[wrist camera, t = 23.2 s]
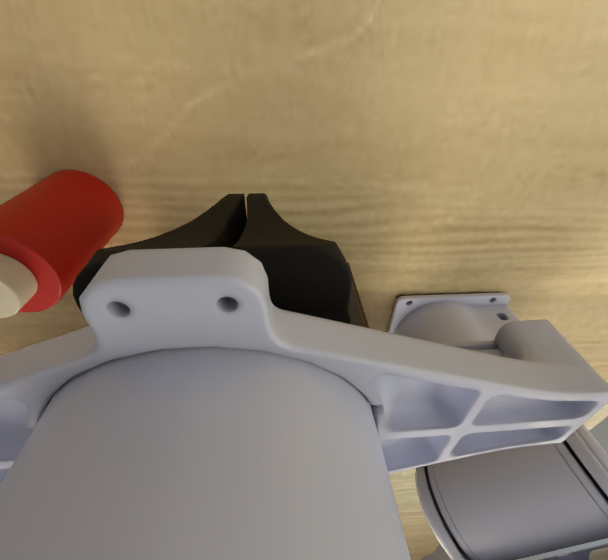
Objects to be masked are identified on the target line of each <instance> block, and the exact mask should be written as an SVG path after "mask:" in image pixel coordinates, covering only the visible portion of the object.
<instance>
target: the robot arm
mask: <svg viewBox="0 0 608 560" xmlns="http://www.w3.org/2000/svg"><path fill="white" fill-rule="evenodd" d="M351 288H352V276H351V273H350V269H349V266H348V264H347V262H346V260H345V258H344V256H343V254H342V252H341V251H340V249H339V247H338V246H337V244H336V243H335V242H333V241H328V240H323V239H318V238H315V237H312V236H309V235H307V234H305V233H302V232H301V231H299V230H297V229H295V228H293V227H292V226H290V225H289V224H288V223H286V222H285V221H284V220H283V219H282V218H281V217H280V216H279V215H278V213H277V212H276V211H275V210H274V208H273V207H272V205H271V204H270V202H269V200H268V198H267V195H266V194H265V193H255V194H249V195H248V196H247V215H246V206H245V197H244V194H228V195H226V196H225V197H224V198H222V199H221V200H220V201H219V202H218V203H216V204H215V205H214V206H212V207H211V208H210V209H209V210H207V211H206V212H204V213H203V214H201V215H200V216H198V217H197V218H196V219H194V220H192V221H191V222H189V223H187V224H185V225H183V226H181V227H179V228H177V229H175V230H172V231H170V232H167V233H165V234H162V235H159V236H157V237H154V238H150V239H147V240H144V241H140V242H136V243H132V244H127V245H121V246H116V247H110V248H104V249H98V250H97V251H96V253H95V254H94V255H93V256H92V258H91V259H90V260H89V261H88V263H87V264H86V265H85V266H84V268H83V269H82V270H81V271H80V273H79V274H78V275H77V277H76V279H75V281H74V284H73V296H74V298H75V301H76V303H77V305H78V307H79V309H80V310H81V312H82V315H83V317H84V318H85V320H86V321H87V323H88V325H89V326H87V327H84V328H81V329H78V330H75V331H72V332H69V333H66V334H63V335H60V336H57V337H54V338H51V339H48V340H45V341H42V342H39V343H36V344H33V345H31V346H28V347H25V348H22V349H19V350H16V351H13V352H10V353H7V354H4V355H1V356H0V560H411V559H410V555H409V551H408V547H407V543H406V540H405V536H404V532H403V528H402V524H401V520H400V516H399V513H398V509H397V505H396V501H395V497H394V493H393V490H392V486H391V482H390V478H389V473H394V472H399V471H403V470H408V469H412V468H416V472H415V480H416V487H417V492H418V496H419V500H420V503H421V506H422V509H423V511H424V514H425V516H426V519H427V521H428V523H429V525H430V527H431V529H432V531H433V533H434V534H435V536H436V538H437V539H438V541H439V543H440V544H441V545H442V547H443V548H444V549H445V551H446V552H447V554H448V555H449V557H450V559H451V560H516V559H520V558H525V557H529V556H533V555H537V554H542V553H546V552H550V551H554V550H558V549H563V548H567V547H571V546H575V545H580V544H584V543H588V542H593V541H597V540H601V539H605V538H608V455H607V453H606V452H605V451H604V450H603V448H602V447H601V446H600V445H599V443H598V442H597V441H596V440H595V438H594V437H593V436H592V435H591V433H590V432H589V431H588V430H587V428H586V427H585V426H584V425H583V424H584V423H585V422H586V421H587V420H588V419H589V418H591V417H592V416H593V415H594V414H595V413H596V412H598V411H599V410H600V409H601V408H602V407H603V406H604V405H606V404H607V403H608V383H607V382H606V381H605V380H604V379H603V378H602V377H601V376H600V375H599V374H598V373H597V372H596V371H595V370H594V368H593V367H592V366H591V365H590V364H589V363H588V362H587V361H586V360H585V359H584V358H583V357H582V356H581V355H580V354H579V353H578V352H577V351H576V349H575V348H574V347H573V346H572V345H571V344H570V343H569V342H568V341H567V340H566V339H565V338H564V337H563V336H562V335H561V334H560V333H559V331H558V330H557V329H556V328H555V327H554V326H553V325H552V324H551V323H550V322H549V321H548V320H527V321H520V320H519V319H518V317H517V316H516V315H515V314H514V313H513V312H512V310H511V309H510V308H509V307H508V306H507V303H508V302H509V300H510V296H509V295H508V294H507V293H474V294H444V295H414V296H400V297H398V298H397V299H396V301H395V305H394V309H393V313H392V317H391V321H390V325H389V329H388V332H384V331H380V330H375V329H370V328H366V327H361V326H356V325H352V324H350V322H351V319H350V315H349V311H348V309H349V302H350V295H351ZM408 301H409V302H408ZM537 560H608V543H607V544H602V545H598V546H594V547H589V548H585V549H581V550H576V551H572V552H568V553H563V554H560V555H555V556H550V557H546V558H542V559H537Z"/></svg>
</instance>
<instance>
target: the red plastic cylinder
mask: <svg viewBox="0 0 608 560" xmlns="http://www.w3.org/2000/svg"><path fill="white" fill-rule="evenodd" d="M122 222H123V209H122V206H121V203H120V201H119V199H118V198H117V196H116V195H115V193H114V192H113V191H112V190H111V189H110V188H109V187H108V186H107V185H106V184H105V183H103V182H102V181H101V180H99V179H97V178H96V177H94V176H92V175H89V174H87V173H84V172H80V171H75V170H63V171H58V172H56V173H53V174H52V175H50V176H48V177H47V178H45V179H43V180H42V181H40V182H38V183H37V184H35V185H33V186H32V187H30V188H28V189H27V190H25V191H23V192H22V193H20V194H18V195H17V196H15V197H13V198H12V199H10V200H8V201H7V202H5V203H3V204H2V205H0V318H5V317H9V316H12V315H14V314H16V313H17V312H37V311H42V310H45V309H48V308H50V307H52V306H54V305H55V304H56V303H57V302H58V301H59V300H60V299H61V298H62V297H63V295H64V294H65V293H66V292H67V291H68V289H69V288H70V287H71V286H72V285H73V283H74V281H75V279H76V277H77V275H78V274H79V273H80V271H81V270H82V269H83V268H84V266H85V265H86V264H87V263H88V261H89V260H90V259H91V258H92V256H93V255H94V254H95V253H96V251H97V250H98V249H103V248H104V246H105V245H106V244H107V243H108V242H109V240H110V239H111V238H112V237H113V236H114V234H115V233H116V232H117V231H118V230H119V228H120V227H121V225H122Z"/></svg>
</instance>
